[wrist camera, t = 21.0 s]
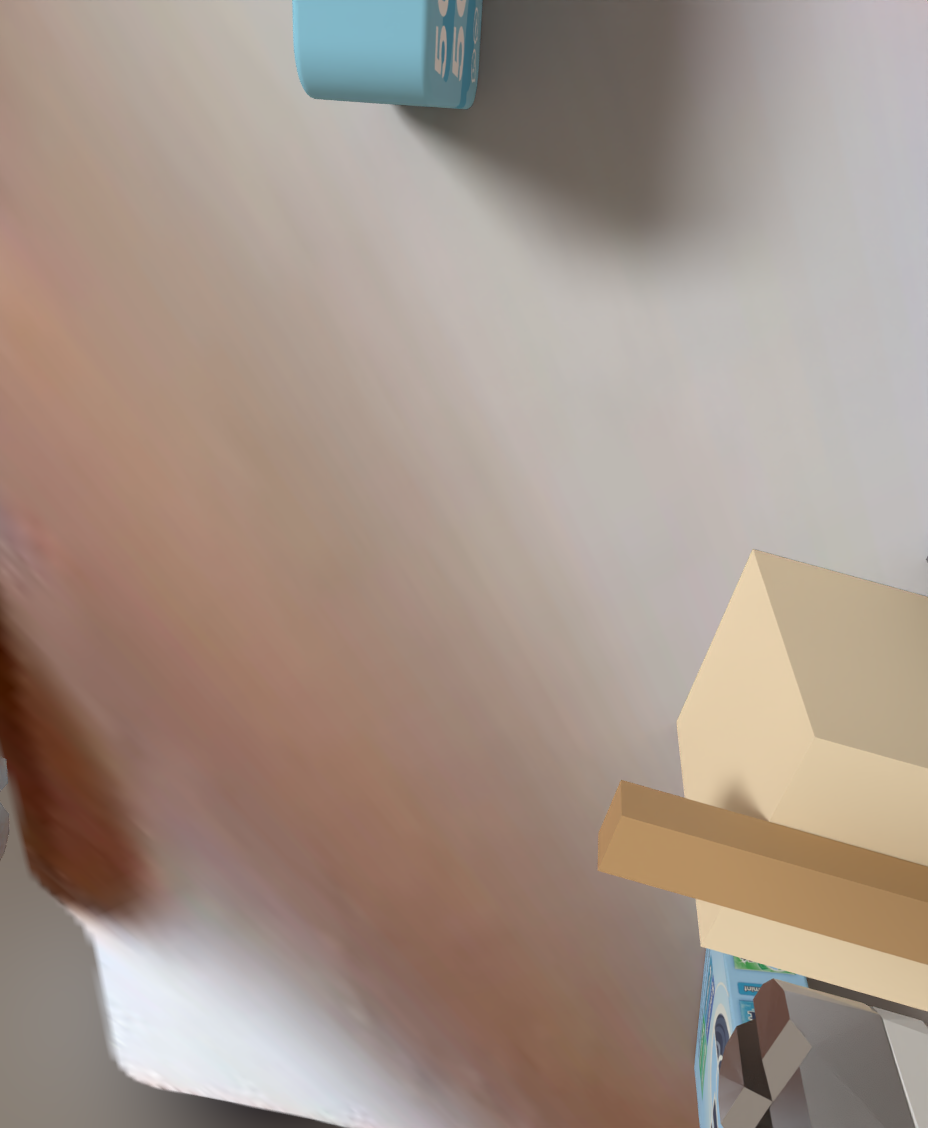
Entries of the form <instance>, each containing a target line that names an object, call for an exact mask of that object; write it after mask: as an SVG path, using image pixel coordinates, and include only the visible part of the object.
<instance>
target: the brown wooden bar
mask: <svg viewBox="0 0 928 1128" xmlns="http://www.w3.org/2000/svg"><path fill="white" fill-rule="evenodd" d="M598 871H601V872H604V873H608V874H611V875H615V876H618V877H622V878H625V879H629V880H632V881H636V882H639V883H643V884H646V885H650V886H653V887H657V888H660V889H664V890H667V891H671V892H674V893H678V894H681V895H685V896H688V897H692V898H695V899H699V900H702V901H706V902H709V903H713V904H716V905H720V906H723V907H727V908H730V909H734V910H737V911H741V912H744V913H748V914H751V915H755V916H758V917H762V918H765V919H769V920H772V921H776V922H779V923H783V924H786V925H790V926H793V927H797V928H800V929H804V930H807V931H811V932H814V933H818V934H821V935H825V936H828V937H832V938H835V939H839V940H842V941H846V942H849V943H852V944H856V945H859V946H863V947H866V948H870V949H873V950H877V951H880V952H884V953H887V954H891V955H894V956H898V957H901V958H905V959H908V960H912V961H915V962H919V963H922V964H926V965H928V867H927V866H923V865H920V864H916V863H913V862H909V861H906V860H902V859H898V858H895V857H891V856H888V855H884V854H881V853H877V852H874V851H870V850H867V849H863V848H860V847H856V846H853V845H849V844H846V843H842V842H838V841H835V840H831V839H828V838H824V837H821V836H817V835H814V834H810V833H807V832H803V831H800V830H796V829H793V828H789V827H785V826H782V825H778V824H775V823H771V822H768V821H764V820H761V819H757V818H754V817H750V816H747V815H743V814H740V813H736V812H733V811H729V810H725V809H722V808H718V807H715V806H711V805H708V804H704V803H701V802H697V801H694V800H690V799H687V798H683V797H680V796H676V795H672V794H669V793H665V792H662V791H658V790H655V789H651V788H648V787H644V786H641V785H637V784H634V783H630V782H627V781H623V780H621V781H620V784H619V786H618V788H617V791H616V793H615V796H614V798H613V800H612V803H611V805H610V807H609V810H608V812H607V815H606V817H605V819H604V822H603V824H602V826H601V829H600V831H599V834H598Z"/></svg>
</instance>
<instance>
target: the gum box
mask: <svg viewBox="0 0 928 1128" xmlns="http://www.w3.org/2000/svg"><path fill="white" fill-rule="evenodd" d="M773 978H774V979H778V980H781V981H785V982H789V983H792V984H796V985H799V986H803V987H807V988H809V987H808V983H807V978H806V976H802V975H799V974H795V973H792V972H788V971H785V970H781V969H778V968H774V967H771V966H767V965H764V964H760V963H757V962H753V961H750V960H746V959H743V958H739V957H736V956H732V955H729V954H725V953H722V952H718V951H715V950H711V949H708V948H706V956H705V965H704V975H703V984H702V994H701V1004H700V1014H699V1024H698V1035H697V1045H696V1055H695V1067H694V1069H695V1077H696V1088H697V1098H698V1111H699V1122H700V1128H723V1127H722V1125H721V1123H720V1112H719V1102H718V1085H719V1071H720V1067H721V1062H722V1058H723V1053H724V1049H725V1046H726V1044H727V1042H728V1040H729V1039H730V1037H731V1035H732V1033H733V1031H734V1030H735V1028H736V1026H738V1025H741V1024H743V1023H746V1022H748V1021H751V1020H753V1019H756V1017H755V1010H754V1003H753V999H754V997H755V995H756V994H757V992H758V991H759V989H760V988H761V986H762V985H763V984H764V983H766V982H767V981H769V980H771V979H773Z"/></svg>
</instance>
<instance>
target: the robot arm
mask: <svg viewBox="0 0 928 1128" xmlns="http://www.w3.org/2000/svg"><path fill="white" fill-rule="evenodd" d="M7 784H8V777H7V766H6V759H4V758H2V757H0V792H1V790H2V789H3V788H4V787H5V786H6V785H7ZM8 835H9V813H8V812H7V811H6V810H5V808H4V807H3V805H2V804H1V803H0V860H1V858H2V856H3V854H4V852H5V848H6V843H7V839H8ZM753 1003H754V1010H755V1017H756V1019H753V1020H751V1021H748V1022H746V1023H743V1024H741V1025H738V1026H736V1028H735V1030H734V1031H733V1033H732V1035H731V1037H730V1039H729V1040H728V1042H727V1044H726V1046H725V1049H724V1053H723V1058H722V1062H721V1067H720V1071H719V1085H718V1102H719V1112H720V1123H721V1125H722V1127H723V1128H928V1027H927V1026H926V1025H925V1023H924V1022H923V1021H922V1020H918V1019H915V1018H911V1017H908V1016H904V1015H901V1014H897V1013H894V1012H890V1011H887V1010H883V1009H880V1008H876V1007H873V1006H867V1005H866V1004H865V1003H861V1002H857V1001H854V1000H850V999H846V998H843V997H839V996H836V995H832V994H828V993H825V992H821V991H818V990H814V989H810V988H807V987H803V986H799V985H796V984H792V983H789V982H785V981H781V980H778V979H774V978H773V979H771V980H769V981H767V982H766V983H764V984H763V985H762V986H761V988H760V989H759V991H758V992H757V994H756V995H755V997H754V999H753Z"/></svg>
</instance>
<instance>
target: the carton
mask: <svg viewBox="0 0 928 1128" xmlns="http://www.w3.org/2000/svg"><path fill="white" fill-rule="evenodd" d="M677 731H678V740H679V750H680V759H681V768H682V777H683V786H684V796H685V798H687V799H690V800H694V801H697V802H701V803H704V804H708V805H711V806H715V807H718V808H722V809H725V810H729V811H733V812H736V813H740V814H743V815H747V816H750V817H754V818H757V819H761V820H764V821H768V822H771V823H775V824H778V825H782V826H785V827H789V828H793V829H796V830H800V831H803V832H807V833H810V834H814V835H817V836H821V837H824V838H828V839H831V840H835V841H838V842H842V843H846V844H849V845H853V846H856V847H860V848H863V849H867V850H870V851H874V852H877V853H881V854H884V855H888V856H891V857H895V858H898V859H902V860H906V861H909V862H913V863H916V864H920V865H923V866H927V867H928V597H926V596H922V595H919V594H915V593H912V592H908V591H904V590H901V589H897V588H893V587H890V586H886V585H882V584H879V583H875V582H871V581H868V580H864V579H860V578H857V577H853V576H849V575H846V574H842V573H838V572H835V571H831V570H827V569H824V568H820V567H816V566H813V565H809V564H806V563H802V562H798V561H795V560H791V559H787V558H784V557H780V556H776V555H773V554H769V553H765V552H762V551H758V550H754V549H753V550H752V552H751V554H750V557H749V559H748V561H747V563H746V566H745V568H744V570H743V573H742V575H741V577H740V579H739V582H738V584H737V586H736V588H735V591H734V593H733V595H732V597H731V600H730V602H729V604H728V607H727V609H726V611H725V613H724V616H723V618H722V620H721V622H720V625H719V627H718V629H717V631H716V634H715V636H714V638H713V641H712V643H711V645H710V647H709V650H708V652H707V654H706V656H705V659H704V661H703V663H702V666H701V668H700V670H699V672H698V675H697V677H696V679H695V681H694V684H693V686H692V688H691V690H690V693H689V695H688V697H687V700H686V702H685V704H684V706H683V709H682V711H681V713H680V715H679V718H678V720H677ZM696 906H697V915H698V925H699V934H700V943H701V947H704V948H708V949H711V950H715V951H718V952H722V953H725V954H729V955H732V956H736V957H739V958H743V959H746V960H750V961H753V962H757V963H760V964H764V965H767V966H771V967H774V968H778V969H781V970H785V971H788V972H792V973H795V974H799V975H802V976H806V977H809V978H813V979H816V980H820V981H823V982H826V983H830V984H833V985H837V986H840V987H844V988H847V989H851V990H854V991H858V992H861V993H865V994H868V995H872V996H875V997H879V998H882V999H886V1000H889V1001H893V1002H896V1003H900V1004H903V1005H907V1006H910V1007H914V1008H917V1009H921V1010H924V1011H928V965H926V964H922V963H919V962H915V961H912V960H908V959H905V958H901V957H898V956H894V955H891V954H887V953H884V952H880V951H877V950H873V949H870V948H866V947H863V946H859V945H856V944H852V943H849V942H846V941H842V940H839V939H835V938H832V937H828V936H825V935H821V934H818V933H814V932H811V931H807V930H804V929H800V928H797V927H793V926H790V925H786V924H783V923H779V922H776V921H772V920H769V919H765V918H762V917H758V916H755V915H751V914H748V913H744V912H741V911H737V910H734V909H730V908H727V907H723V906H720V905H716V904H713V903H709V902H706V901H702V900H699V899H696Z"/></svg>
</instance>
